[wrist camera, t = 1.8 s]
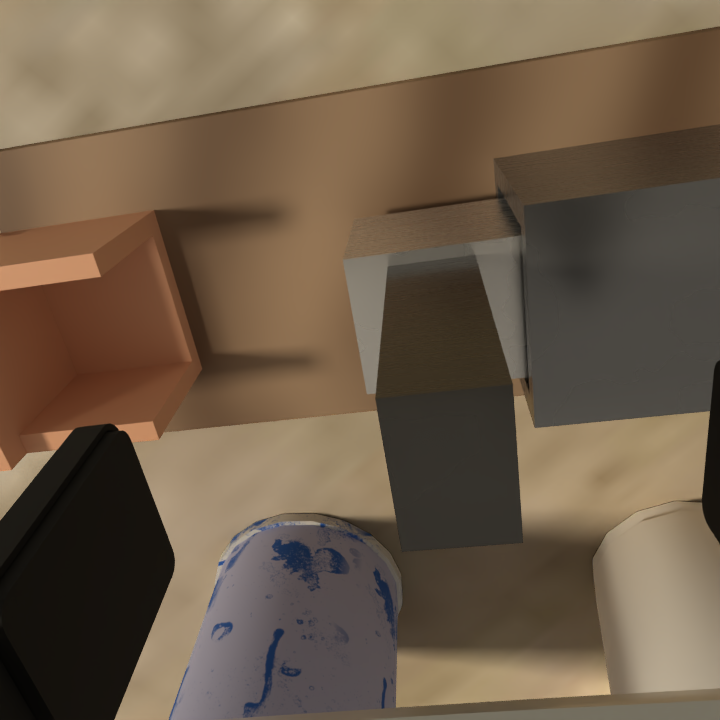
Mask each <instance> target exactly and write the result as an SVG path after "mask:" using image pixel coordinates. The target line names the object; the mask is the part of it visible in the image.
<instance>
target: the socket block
mask: <svg viewBox="0 0 720 720" xmlns="http://www.w3.org/2000/svg"><path fill="white" fill-rule="evenodd" d="M201 370H202V366H201V363H200V360H199V357H198V353H197V350H196V347H195V343H194V340H193V337H192V334H191V330H190V327H189V324H188V320H187V317H186V314H185V311H184V307H183V304H182V301H181V297H180V294H179V291H178V288H177V284H176V281H175V278H174V274H173V271H172V268H171V265H170V261H169V258H168V255H167V251H166V248H165V245H164V242H163V238H162V235H161V232H160V228H159V225H158V222H157V219H156V215H155V212H154V210H150V211H144V212H137V213H131V214H124V215H117V216H111V217H104V218H98V219H91V220H85V221H78V222H71V223H65V224H58V225H52V226H45V227H38V228H32V229H25V230H19V231H12V232H5V233H0V471H7V470H12V469H13V468H14V467H15V466H16V465H17V463H18V462H19V461H20V460H21V459H22V458H23V457H24V456H25V455H26V453H32V452H42V451H52V450H58V448H59V447H60V446H61V445H62V443H63V442H64V441H65V440H66V438H67V437H68V436H69V435H70V433H71V432H72V431H73V430H74V429H75V428H77V427H84V426H92V425H100V424H109V423H111V424H113V425H115V426H116V427H117V428H118V430H119V431H122V430H123V431H125V432H126V433H127V434H128V435H129V437H130V439H131V441H132V442H141V441H150V440H159V439H160V437H161V436H162V434H163V432H164V431H165V429H166V428H167V426H168V424H169V423H170V421H171V419H172V418H173V416H174V414H175V413H176V411H177V410H178V408H179V406H180V405H181V403H182V401H183V400H184V398H185V396H186V395H187V393H188V392H189V390H190V388H191V387H192V385H193V383H194V382H195V380H196V378H197V377H198V375H199V373H200V372H201Z"/></svg>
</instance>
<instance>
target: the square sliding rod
mask: <svg viewBox="0 0 720 720" xmlns="http://www.w3.org/2000/svg"><path fill="white" fill-rule="evenodd" d="M343 264H344V270H345V276H346V281H347V287H348V292H349V298H350V303H351V309H352V314H353V320H354V325H355V331H356V337H357V342H358V348H359V353H360V359H361V364H362V370H363V375H364V381H365V386H366V392H367V394H375V393H376V396H375V400H376V406H377V412H378V417H379V423H380V429H381V435H382V440H383V446H384V452H385V457H386V463H387V469H388V475H389V480H390V486H391V492H392V498H393V503H394V509H395V515H396V521H397V526H398V532H399V538H400V543H401V549H402V552H404V551H418V550H432V549H445V548H459V547H473V546H486V545H500V544H513V543H523V534H522V518H521V503H520V487H519V472H518V457H517V441H516V426H515V410H514V395H513V383H512V380H511V379H516V378H525V377H529V373H528V354H527V335H526V315H525V296H524V277H523V258H522V238H521V226H520V224H519V222H518V220H517V219H516V217H515V215H514V213H513V211H512V210H511V208H510V206H509V204H508V203H507V201H506V199H505V197H504V198H497V199H490V200H483V201H476V202H470V203H463V204H456V205H449V206H442V207H435V208H428V209H421V210H414V211H407V212H400V213H393V214H386V215H379V216H372V217H365V218H358V219H354V222H353V226H352V229H351V233H350V236H349V240H348V243H347V246H346V250H345V253H344V257H343Z"/></svg>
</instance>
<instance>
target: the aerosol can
mask: <svg viewBox="0 0 720 720" xmlns="http://www.w3.org/2000/svg"><path fill="white" fill-rule="evenodd" d="M401 607H402V582H401V573H400V571H399V569H398V567H397V565H396V563H395V562H394V560H393V558H392V556H391V554H390V552H389V551H388V550H387V549H386V548H384V547H383V546H382V545H381V544H380V543H379V542H378V541H377V540H376V539H375V538H374V537H373V536H372V535H371V534H369V533H367V532H365V531H363V530H361V529H360V528H358V527H356V526H354V525H352V524H350V523H348V522H346V521H344V520H340V519H336V518H331V517H327V516H323V515H318V514H314V513H311V514H281V515H278V516H274V517H271V518H268V519H264V520H261V521H257V522H255V523H253V524H252V525H250V526H249V527H247V528H246V529H244V530H243V531H241V532H240V533H238V534H237V535H235V536H234V538H233V539H232V540H231V542H230V543H229V545H228V546H227V548H226V549H225V550H224V552H223V553H222V555H221V558H220V560H219V564H218V569H217V575H216V580H215V589H214V591H213V594H212V597H211V600H210V603H209V606H208V609H207V611H206V614H205V617H204V620H203V623H202V626H201V629H200V631H199V634H198V637H197V640H196V643H195V646H194V649H193V651H192V654H191V657H190V660H189V663H188V666H187V669H186V672H185V674H184V677H183V680H182V683H181V686H180V689H179V692H178V694H177V697H176V700H175V703H174V706H173V709H172V712H171V714H170V717H169V720H219V719H233V718H248V717H262V716H276V715H292V714H307V713H322V712H338V711H353V710H369V709H384V708H396V669H397V622H398V615H399V612H400V609H401Z"/></svg>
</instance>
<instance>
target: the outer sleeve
mask: <svg viewBox="0 0 720 720" xmlns="http://www.w3.org/2000/svg"><path fill="white" fill-rule="evenodd" d="M493 161H494V175H495V190H496V199H497V198H504V197H505V199H506V201H507V203H508V204H509V206H510V208H511V210H512V211H513V213H514V215H515V217H516V219H517V220H518V222H519V224H520V226H521V238H522V258H523V277H524V296H525V315H526V335H527V354H528V373H529V377H525V378H519V379H520V382H521V386H522V389H523V392H524V395H525V398H526V401H527V405H528V408H529V411H530V414H531V417H532V421H533V424H534V427H535V428H539V427H549V426H559V425H570V424H580V423H591V422H601V421H611V420H622V419H632V418H643V417H653V416H663V415H674V414H684V413H694V412H705V411H710V407H711V397H712V386H713V375H714V368H715V365H716V363H717V362H718V361H719V360H720V124H717V125H711V126H704V127H697V128H691V129H684V130H678V131H671V132H664V133H658V134H651V135H645V136H638V137H632V138H625V139H618V140H612V141H605V142H599V143H592V144H585V145H579V146H572V147H566V148H559V149H552V150H546V151H539V152H533V153H526V154H519V155H513V156H506V157H500V158H493Z"/></svg>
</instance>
